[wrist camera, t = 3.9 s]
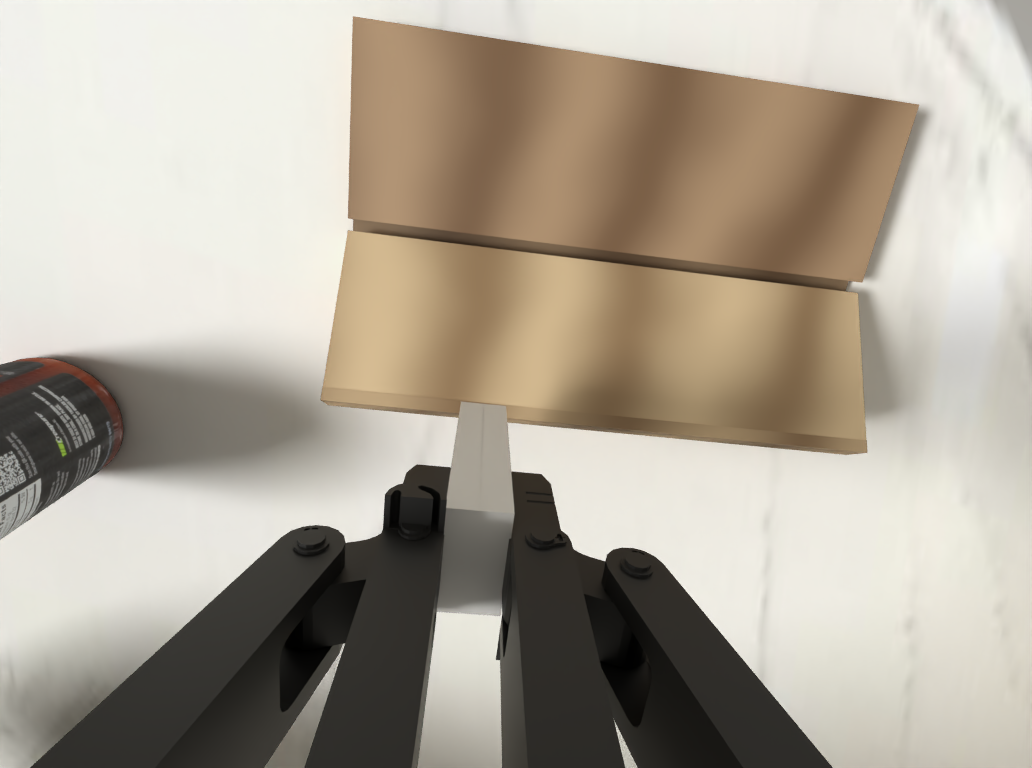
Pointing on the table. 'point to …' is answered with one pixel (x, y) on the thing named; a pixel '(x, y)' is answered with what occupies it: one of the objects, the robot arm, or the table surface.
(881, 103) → the laid board
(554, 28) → the table surface
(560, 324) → the plank
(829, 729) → the table surface
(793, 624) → the table surface
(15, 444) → the supplement bottle
